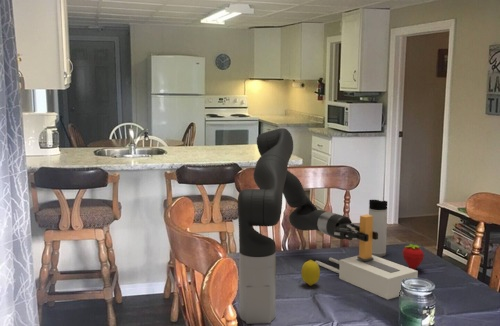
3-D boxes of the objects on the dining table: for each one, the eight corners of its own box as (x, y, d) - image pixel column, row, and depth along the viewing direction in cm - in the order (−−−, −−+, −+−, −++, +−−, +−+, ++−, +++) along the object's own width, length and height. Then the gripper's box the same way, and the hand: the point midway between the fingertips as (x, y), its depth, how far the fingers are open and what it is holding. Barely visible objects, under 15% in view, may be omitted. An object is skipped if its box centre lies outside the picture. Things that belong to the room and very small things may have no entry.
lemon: (304, 281, 163) (305, 255, 162) (322, 284, 160) (322, 258, 159) (298, 287, 158) (298, 261, 157) (316, 290, 156) (316, 263, 154)
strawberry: (412, 275, 168) (413, 244, 167) (397, 267, 175) (398, 238, 174) (427, 272, 170) (429, 242, 169) (412, 265, 177) (413, 236, 176)
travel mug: (364, 255, 188) (366, 199, 185) (371, 250, 193) (373, 196, 191) (381, 258, 185) (383, 201, 182) (388, 253, 190) (390, 198, 187)
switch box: (417, 290, 155) (417, 270, 154) (387, 299, 148) (388, 278, 148) (367, 271, 172) (367, 252, 171) (339, 278, 165) (339, 259, 164)
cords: (359, 271, 171) (359, 268, 171) (342, 276, 167) (342, 272, 167) (330, 260, 183) (330, 256, 183) (314, 263, 179) (314, 260, 179)
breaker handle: (373, 259, 163) (374, 216, 161) (365, 261, 161) (366, 217, 159) (364, 256, 166) (366, 214, 164) (357, 258, 164) (358, 215, 162)
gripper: (317, 216, 170) (355, 228, 156) (350, 211, 178) (389, 221, 163) (317, 239, 171) (354, 253, 157) (350, 233, 179) (388, 245, 164)
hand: (372, 237), depth 160 cm, fingers open, 3 cm apart
